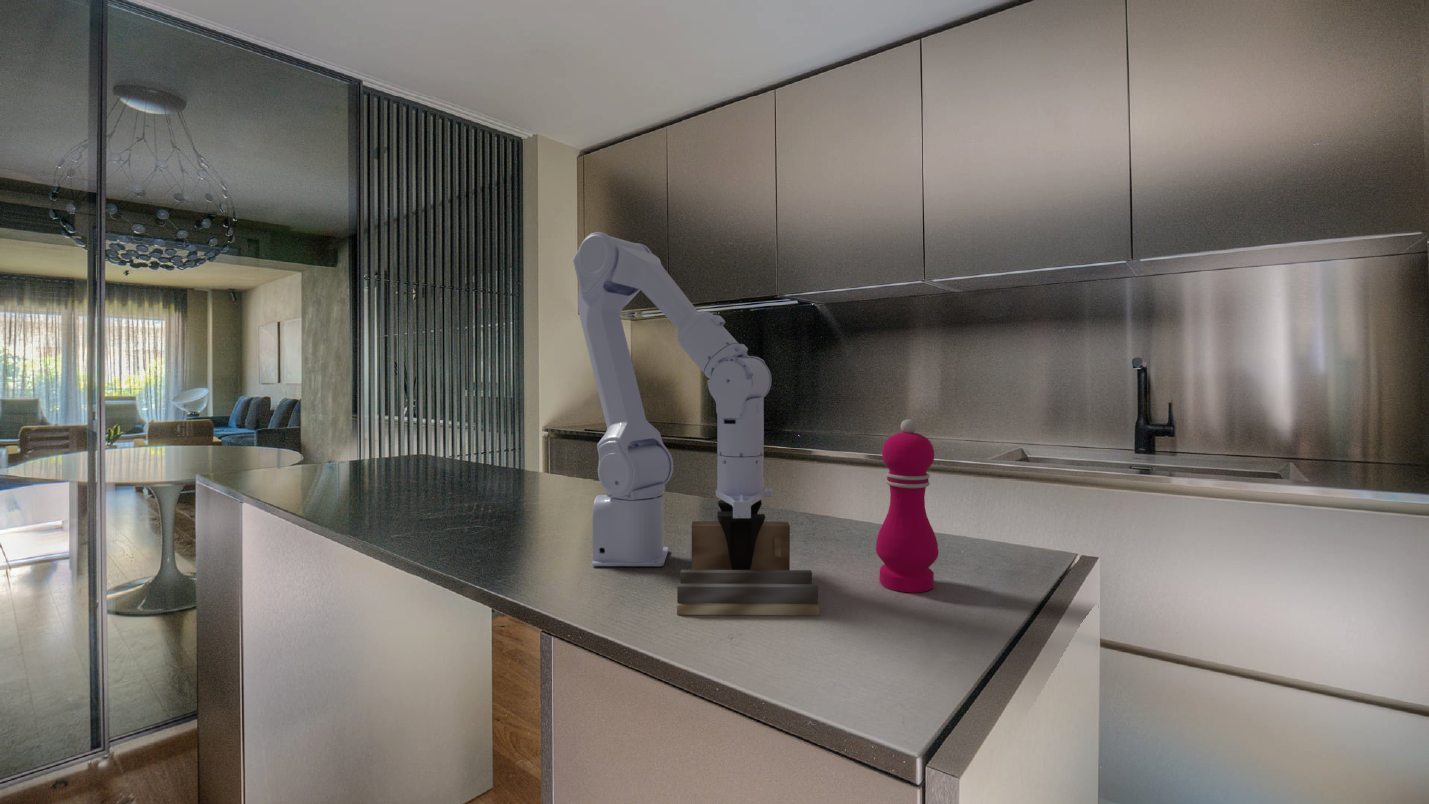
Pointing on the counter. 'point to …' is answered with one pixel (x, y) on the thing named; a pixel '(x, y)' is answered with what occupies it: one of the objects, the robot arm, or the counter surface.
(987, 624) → the counter surface
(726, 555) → the door panel
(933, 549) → the pepper mill
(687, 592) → the track board
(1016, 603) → the counter surface
